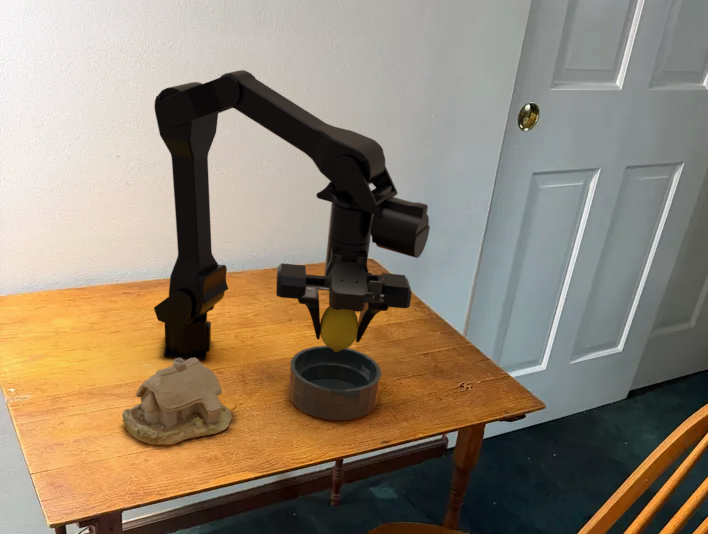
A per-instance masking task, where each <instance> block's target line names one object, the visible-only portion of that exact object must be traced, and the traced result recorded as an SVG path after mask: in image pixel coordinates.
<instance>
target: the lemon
mask: <svg viewBox="0 0 708 534" xmlns="http://www.w3.org/2000/svg"><path fill="white" fill-rule="evenodd" d="M358 320H359V318H358V316H357V312H356V311H353V310H345V309H341V310H335V309H332V308H331V307H330V305H329V306H327V307H326V308H325V310H324V311H323V314H322V315H321V317H320V339H321V340H322V342H323V344H324V345H325V346H328V347H329V348H331V349H333V350H334V351H335V352H339V351H340V350H344V349H346V348H350V347H351V346H352V345H353V344H354V342H356V336H357V332H358Z"/></svg>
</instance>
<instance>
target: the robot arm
mask: <svg viewBox="0 0 708 534" xmlns="http://www.w3.org/2000/svg"><path fill="white" fill-rule="evenodd" d="M153 108H154V114H155V119H156V123H157V128H158V133H159V136H160V138H161V140H162V141H163V143H164V145H165V146H166V148H167V150H168V152H169V154H170V157H171V169H172V183H173V199H174V213H175V229H176V243H177V257H176V259H175V263H174V265H173V268H172V269H171V273H170V276H169V277H170V278H169V285H168V286H169V287H168V296H167V297H166V298H164V299H163V300H162V301H160V302H159V303H158V304H157V305H155V306H154V307H153V310H154V313H155V316H156V320H157V321H158V322H161V323H164V350H163V358H166V359H177V358H182V359H183V360H188V359H190V358H194V357H195V358H197V359H198V360H199V361H205V360H207V355H208V353H209V352H210V351H211V345H212V323H211V321H208V313H209V312H210V311H212V310H214V308H215V305H216V304H218V303H219V302H220V301H221V300H223V299H224V296H225V292H226V291H228V290H229V286H228V283H227V273H228V272H227V270H228V268H227V265H226V264H219V263H218V261H217V260H216V258H215V257H214V255H213V251H212V230H211V229H212V228H211V210H210V209H211V205H210V203H211V202H210V182H209V181H210V180H209V159H208V158H209V152H210V150H211V147H212V144H213V142H214V140H215V137H216V134H217V127H218V119H219V114H221V113H224V112H225V111H226V112H227V111H228V110H231V109H235V110H236V111H237V112H239V113H241V114H243V115H244V116H245V117H247V118H249V119H250V120H252V121H253V122H255V123H256V124H258V125H259V126H262V127H263V128H265V129H266V130H268V131H269V132H271V133H272V134H274V135H275V136H277V137H278V138H280V139H282V140H283V141H284V142H287V143H288V144H290V145H291V146H293V147H294V148H296V149H298V150H299V151H301V152H302V153H303V154H305V155H306V156H307V157H308V158H310V160H312V161H313V163H314V165H315V166H316V168H317V169H318V171H319V172H320V174H321V175H323V176H324V177H325V178H326V179H328V180H329V181H330V182H328V184H327V186H325V187H324V188H323V189H321V190H320V191H318V192H317V193H316V198H317V199H319V200H322V201H326V202H328V203H331V206H330V215H329V225H328V235H327V245H326V255H325V265H324V275H316V274H307V268H306V267H307V266H306V265H305V264H304V265H303V264H293V263H280V264H279V265H278V266H277V268H276V285H275V286H276V288H275V289H276V291H275V293H276V294H275V296H276V297H279V298H283V299H292V300H293V299H295V300H297V302H298V303H299V304H301V305H305V306H306V308H307V310H308V313H309V315H310V319H311V321H312V325H313V329H314V334H315V338H316V340H320V339H321V335H320V322H321V316H320V315H321V313H320V298H319V297H320V296H319V295H320V294H319V291H328V305H329V306H330V307H331V308H332V309H335V310H341V309H345V310H353V311H355V313H359V316H358V332H357V336H356V339H355V342H356V343H360V341H361V340H362V338H363V336H364V334H365V332H366V330H367V329H368V327H369V325H370V324H371V322H372V320H373V319H374V318H375V316H376V315H377V314H379V313H381V312H386V311H388V310H389V308H397V309H408V308H411V307H410V306H411V301H412V300H411V299H412V288H411V285H410V282H409V279H408V277H407V276H406V275H405V274H398V273H397V274H396V273H386V272H381V274H373V273H372V272H369V268H368V260H369V253H370V246H371V245H370V244H371V242H372V243H373V244H375V245H376V247H377V248H381V249H383V250H387V251H391V252H395V253H398V254H401V255H405V256H408V257H411V258H415V259H418V258H420V257H421V255H422V253H423V251H424V250H425V247H426V244H427V241H428V237H429V235H430V234H429V233H430V229H431V226H430V225H429V224H430V220H429V219H430V217H429V214H428V208H429V206H428V204H426V203H422V202H418V201H417V202H413V201H410V200H406V199H401V198H398V197H396V196H397V195H398V190H397V188H396V186H395V183H394V182H393V179H392V177H391V175H390V173H389V171H388V169H387V166H386V157H385V154H384V148H383V147H382V145H381V144H380V143H379V142H377V141H376V140H375V139H373V138H371V137H368V136H366V135H364V134H361V133H358V132H356V131H354V130H351V129H346V128H342V127H337V126H334V125H331V124H330V123H327V122H325V121H323V120H322V119H320V118H318V117H317V116H315V115H314V114H312V113H311V112H309V111H308V110H306V109H304V108H303V107H302V106H300V105H298V104H296V103H295V102H293V101H292V100H290V99H289V98H287V97H285V96H284V95H282V94H281V93H279V92H277V91H276V90H274V89H273V88H272V87H270V86H268V85H266V84H265V83H263V82H261V81H260V80H259V79H257V78H256V77H255V76H254V74H253V73H251V72H249V71H247V70H245V69H240V70H235V71H230V72H226V73H224V74H221V75H220V77H218V78H215V79H212V80H210V81H207V82H204V83H202V82H199V81H193V82H187V83H182V84H178V85H174V86H169V87H166V88H164V89H162V90H161V91H160V92H159V94H157V95H156V96H155V99H154V107H153ZM370 185H373V186H374V188H373V189H371V187H370Z"/></svg>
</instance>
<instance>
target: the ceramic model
mask: <svg viewBox="0 0 708 534" xmlns="http://www.w3.org/2000/svg"><path fill="white" fill-rule="evenodd" d="M222 394H223V390H222V387H221V385H220V382H219V379H218V377H217V375H216V374H215V371H213V370H211V369H210V368H208V367H206V366H205V364H203V363H202V362H201V361H200V360H198V359H197V358H195V357H194V358H190V359H182V358H174V359H173V362H172V365H171V366H167V367H165V368H162V369H159V370H156V371H155V373H154V374H153V375H151V376H149V378H148V379H146V380H144V381H143V382H142V383H141V385H140V386H139V387H138V389H137V391H136V393H135V396H136V397H137V398H140V402H141V403H140V402H139V403H137V404H136V405H134V406H133V407H130V408H127V409H123V411H122V413H121V414H122V415H121V416H122V422H123V424H124V425H125V428H126V430H127V432H128V433H129V435H131V436H132V437H134V438H135V439H136V440H138V441H141V442H144V443H147V444H150V445H172V444H177V443H180V442H183V441H185V440H187V439H193V438H197V437H202V436H203V437H204V436H207V435H209V436H210V435H214V434H217V433H219V432H222V431H225V430H227V428H229V425H230V423H231V421H232V414H231V411H230V410H229V408H228V407H226V406H225V405H224V404H223V403H222V402H221V400H220V399H219V397H218V396H220V395H222Z"/></svg>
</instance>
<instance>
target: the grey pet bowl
mask: <svg viewBox="0 0 708 534" xmlns="http://www.w3.org/2000/svg"><path fill="white" fill-rule="evenodd" d="M289 365H290V366H289V377H288V398H289V399H290V401H291V403H292V404H293V405H294V406H295V407H296V408H298V409H299V410H300V411H302V412H304V413H306V414H308V415H310V416H312V417H315V418H319V419H324V420H330V421H347V420H349V421H350V420H356V419H359V418H362V417H365V416H367V415H368V414H369V413H370V412H371V413H372V411H373V410H374V409H375V408H376V406H377V403H378V399H379V392H380V385H381V380H382V371H381V367H380V365H379V364H378V363H377V361H376V360H375V359H373V358H372V357H370V356H369V355H367V354H366V353H363V352H360V351H358V350H356V349H353V348H350V347H348V348H346V349H344V350H340V351H339V352H335V351H334V350H333V349H331V348H329V347H328V346H327V345H319V346H312V347H308V348H304V349H302V350H300V351H298V352H297V353H295V354H294V355H293V357H292V358H291V359H290V364H289Z"/></svg>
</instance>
